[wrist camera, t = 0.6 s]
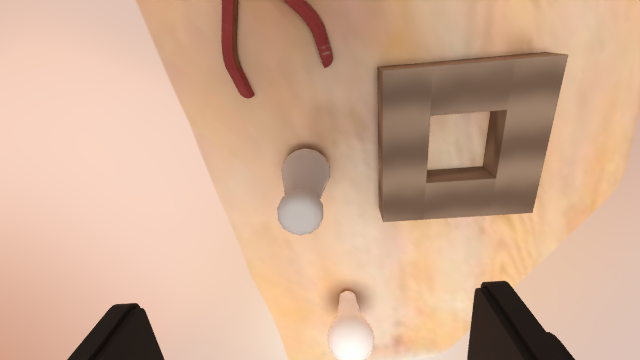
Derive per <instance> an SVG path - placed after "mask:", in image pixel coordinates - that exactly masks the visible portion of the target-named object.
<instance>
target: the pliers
mask: <svg viewBox="0 0 640 360" xmlns="http://www.w3.org/2000/svg"><path fill="white" fill-rule="evenodd" d="M284 1H285V2H286V3H287V4H288V5H289V6H290V7H292V8H293V9H294V10H295V11H296V12H297V13H298V14H299V15H300V16H301V17H302V18H303V19H304V21H305V22H306V23H307V25H308V26H309V28H310V29H311V31H312V33H313V36H314V38H315V41H316V44H317V47H318V50H319V54H320V57H321V60H322V63H323V65H324V68H326V67H328V66H329V65H330V64H331V63H332V60H333V54H332V51H331V47H330V44H329V40H328V37H327V33H326V30H325V26H324V24H323V22H322V20H321V19H320V17H319V16H318V14H317V13H316V12H315V11H314V9H313V8H312V7H311V6H310V5H309V4H308V3H307V2H306V1H305V0H284ZM237 18H238V0H222V53H223V59H224V63H225V66H226V69H227V71H228V72H229V74H230V76H231V78H232V80H233V82H234V84H235V86H236V88H237V89H238V91H239V93H240V94H241V95H242V96H243V97H245V98H251V97H253V96H254V92H253V90H252V88H251V86H250V84H249V82H248V80H247V78H246V76H245V74H244V72H243V70H242V68H241V65H240V62H239V59H238V54H237Z"/></svg>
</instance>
